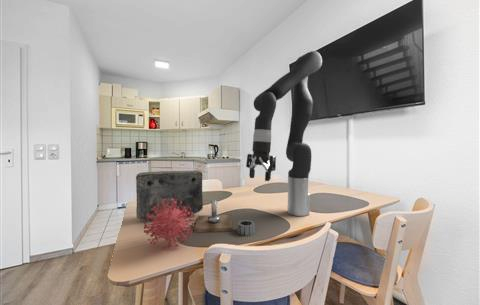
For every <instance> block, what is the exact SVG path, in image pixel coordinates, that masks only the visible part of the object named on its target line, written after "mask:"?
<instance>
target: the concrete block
mask: <svg viewBox="0 0 480 305" xmlns="http://www.w3.org/2000/svg"><path fill="white" fill-rule="evenodd" d="M135 181H136V183H135V184H136V185H135V186H136V190H135V191H136V193H135V194H136V219H138V220H148V218H149V220H152V219H153V218H150V217H146V214H148V213H149V214H150V216H151V214H152V215H153V216H156V213H154V212H155V211H153V210H151V209H152V208H154V206H156V207H157V208H158V210H161V209H160V208H161V207H162V208H163V209H164V207H163V204H164V203H163V204H162V203H161V202H160V201H162V200H164V199H168V198H169V199H168V201H167V200H166V201H164V202H165V206H166V205H169V206H171V204H172V205H174V204H173V202H174V201H173V202H171V199H174V200H175V202H177V203H176V206H177V207H176V208H178V206H179V204H180V201H182V204H180V206H179V209H180V211H181V210H183V208H181V206H183V207H187V206H189V207H190V208H191V210H192V211H190V210H189V208H185V209H188V210H189V213H190V215H189V214H188V216H191V215H194V214H198V213H199V212H202V210H203V208H204V206H203V200H204V198H203V171H201V170H196V169H195V170H164V171H161V170H160V171H145V172H144V171H143V172H139V173H137V174H136V176H135ZM176 199H178V200H177V201H176ZM159 202H160V204H159ZM157 204H159V206H158V205H157ZM160 205H161V206H160ZM173 207H174V206H173ZM167 208H168V207H167ZM170 208H171V207H170ZM155 210H156V209H155ZM188 210H187V211H188ZM157 212H158V211H157ZM191 212H193V213H192V214H191Z"/></svg>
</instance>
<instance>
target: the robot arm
mask: <svg viewBox="0 0 480 305" xmlns="http://www.w3.org/2000/svg"><path fill="white" fill-rule="evenodd" d="M322 63H323V58H322V56H321V54H320V52H318V51H316V50H312V51H309V52H307V53H304V54H303V55H301V56H299V57H298V58H297V59H296V61H295V63H294V68H293V69H291V70H290V71H289V72H287V73H286V74H283V76H281V77H280V78H278V79H277V80H276V81H275V82H274V83H273V84H271V85H270V86H269V87H268V88H267V89H265V90H264V91H262V92H261V93H259V94H258V95H257V96H256V97H255V98H254V101H253V108H254V109H255V110H256V111H257V112H259V114H258V115H257V116H256V118H255V119H254V131H253V135H252V136H253V138H252V149H251V150H252V152H253V153H248V154H247V155H246V156H247V157H246V164H245V167H246V168H248V170H249V174H248V175H249V178H250V179H254V178H255V172H256V167H258V166H262V167H263V168H264V170H265V174H264V181H265V182H269V181H270V180H271V176H272V172H274V171H276V170H277V168H276V165H277V164H276V163H277V161H276V160H277V159H276V158H277V156H276V155H270V153H271V144H272V121H273V118H274V115H275V112H276V108H277V101H279V100H281V99H283V98H284V97H285V96H286V95H287V94H288V93H289V92H291V90H293V99H292V106H291V118H290V125H289V126H290V127H289V134H288V138H287V139H288V140H287V144H286V149H285V155H286V158H287V160H289V161H290V162H292V166H291V169H289V170H288V173H287V213H288V214H289V215H292V216H295V217H305V216H309V215H310V207H311V194H310V193H309V177H310V176H309V174H310V173H311V169H312V168H311V166H312V149H311V147H310V146H309V144H307V143H305V142H303V140H304V133H305V132H306V129H307V127H308V125H309V122H310V120H311V118H312V114H313V106H314V100H313V97H312V95H311V93H310V91H309V87H308V79H309V77H310V75H312V74H314V73H316V72H318V71H319V70H320V69H321V67H322V65H323V64H322Z"/></svg>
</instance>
